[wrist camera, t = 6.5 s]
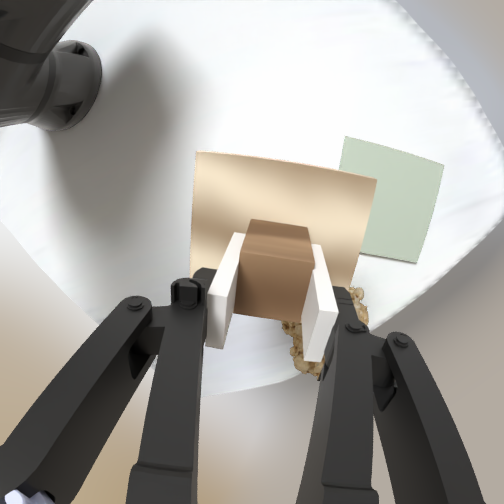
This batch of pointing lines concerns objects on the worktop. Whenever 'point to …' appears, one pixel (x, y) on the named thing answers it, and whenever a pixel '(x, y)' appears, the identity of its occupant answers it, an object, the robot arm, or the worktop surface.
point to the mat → (395, 197)
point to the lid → (277, 226)
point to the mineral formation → (296, 332)
